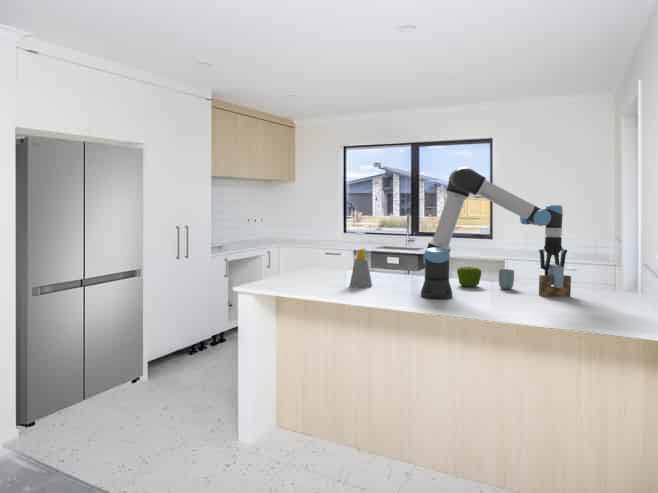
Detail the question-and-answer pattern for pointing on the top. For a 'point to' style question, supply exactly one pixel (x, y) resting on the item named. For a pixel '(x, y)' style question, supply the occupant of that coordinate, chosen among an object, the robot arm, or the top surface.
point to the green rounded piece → (469, 276)
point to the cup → (506, 278)
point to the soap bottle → (361, 272)
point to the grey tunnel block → (556, 275)
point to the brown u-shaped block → (549, 290)
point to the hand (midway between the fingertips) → (551, 283)
